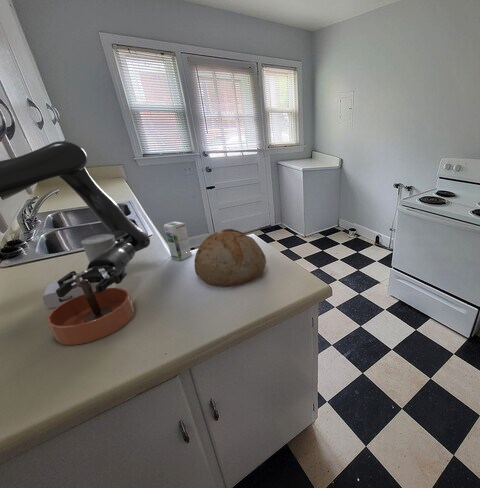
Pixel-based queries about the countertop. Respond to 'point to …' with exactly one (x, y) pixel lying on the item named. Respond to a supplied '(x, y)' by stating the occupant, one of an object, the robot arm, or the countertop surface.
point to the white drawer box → (52, 297)
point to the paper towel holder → (92, 303)
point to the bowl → (77, 332)
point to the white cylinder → (97, 245)
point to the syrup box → (177, 240)
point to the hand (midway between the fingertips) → (78, 292)
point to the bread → (229, 259)
